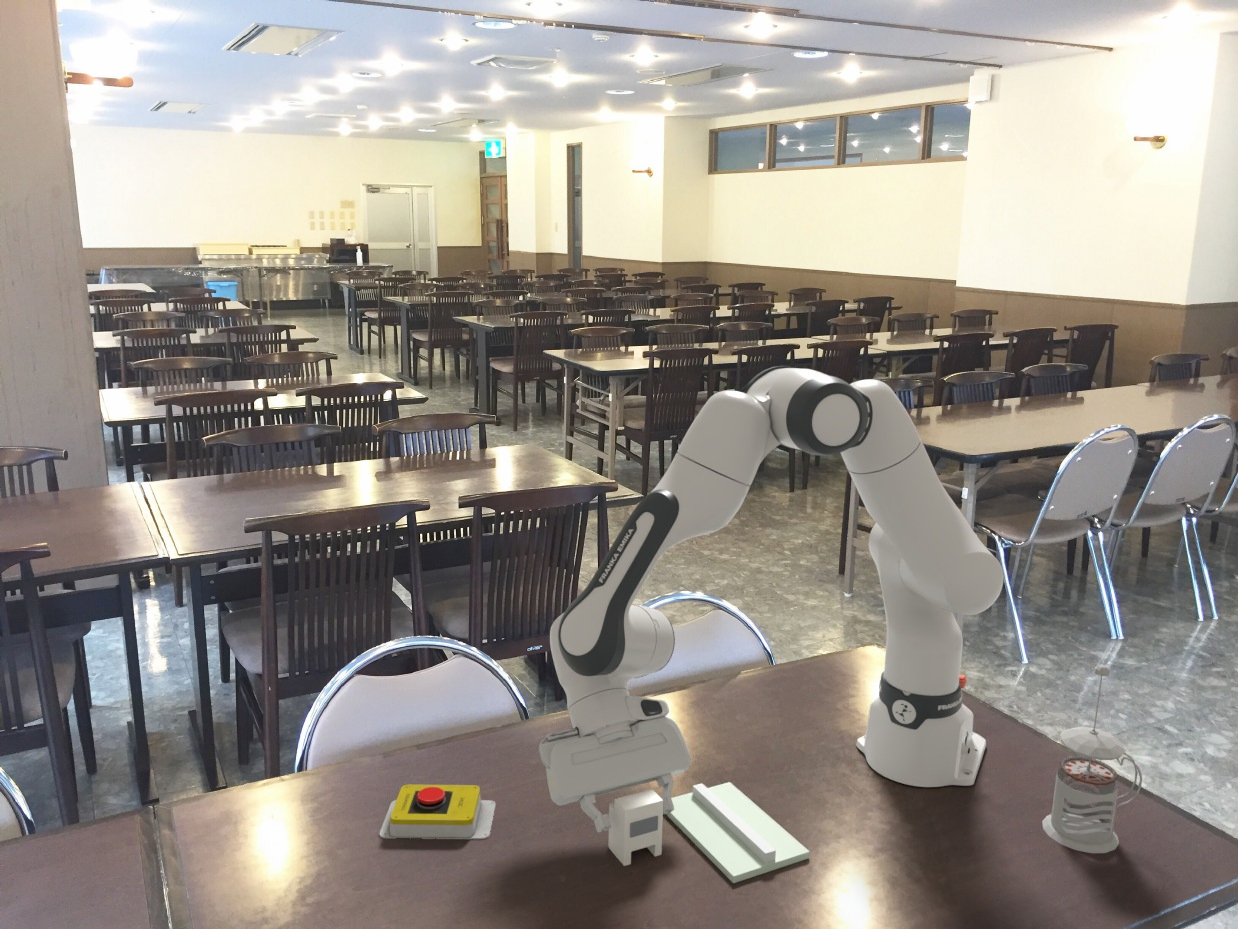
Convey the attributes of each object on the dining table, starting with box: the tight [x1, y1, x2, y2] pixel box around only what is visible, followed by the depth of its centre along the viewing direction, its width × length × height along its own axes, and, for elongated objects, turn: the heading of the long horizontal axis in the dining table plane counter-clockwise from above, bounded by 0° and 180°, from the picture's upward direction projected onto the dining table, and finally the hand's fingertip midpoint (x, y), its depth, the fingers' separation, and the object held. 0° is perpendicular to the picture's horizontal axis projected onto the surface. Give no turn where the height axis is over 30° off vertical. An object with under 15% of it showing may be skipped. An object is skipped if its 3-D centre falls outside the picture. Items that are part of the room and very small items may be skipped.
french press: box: [1041, 664, 1143, 854], centre depth 135 cm, size 10×12×25 cm
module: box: [608, 788, 664, 867], centre depth 131 cm, size 5×6×8 cm
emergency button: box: [378, 784, 497, 840], centre depth 137 cm, size 9×4×15 cm
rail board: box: [665, 781, 810, 884], centre depth 136 cm, size 19×12×2 cm, turn 27°
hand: (636, 821), depth 130 cm, fingers open, 8 cm apart
